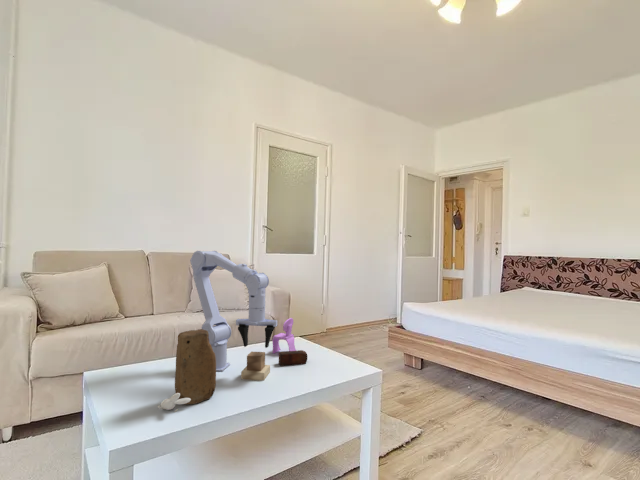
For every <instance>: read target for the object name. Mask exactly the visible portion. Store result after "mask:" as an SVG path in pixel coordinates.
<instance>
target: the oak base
mask: <svg viewBox="0 0 640 480" xmlns="http://www.w3.org/2000/svg"><path fill="white" fill-rule="evenodd" d="M240 373H241V375H240V379H241V380H248V381H251V380H252V381H265V380H266V379H267V377H268V376H269V374H270V373H271V365H270V364H265V367H264V368H263V369H262V370H261V371H249V370H247V365H246V366H245V367H244V368H243V369H242V370H241V372H240Z"/></svg>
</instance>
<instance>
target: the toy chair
mask: <svg viewBox="0 0 640 480" xmlns="http://www.w3.org/2000/svg"><path fill="white" fill-rule="evenodd" d="M293 325H294V318H293V317H289V318H288V319H286V320H285V321H284V322H283V325H282V326H283V327H282V330H283V331H284V332H285V333H284V332H280V333H278V334H275V335H273V337H272V354H275V353H277V352H280V351H282V350H281V347H280V340H284V341H286V342H287V346H288V351H297V349H296V345H295V337H294V334H293V333H292V331H293V329H292V328H293Z"/></svg>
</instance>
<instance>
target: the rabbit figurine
mask: <svg viewBox="0 0 640 480" xmlns="http://www.w3.org/2000/svg"><path fill="white" fill-rule="evenodd" d="M179 397H180V393H175V394H173V395H172V396H170V397H169V398H165V399H164V400H163V401H162V402H160V405H157V408H158V409H160V410H166V411H167V410H169V411H171V410H172V409H174V408H175V407H176V405H187V404H186V403H188V402H190V401H191V399H190V398H181V399H179ZM178 410H179V408H177V409H176V410H174V413H176V412H177V411H178Z"/></svg>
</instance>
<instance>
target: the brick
mask: <svg viewBox="0 0 640 480" xmlns="http://www.w3.org/2000/svg"><path fill="white" fill-rule="evenodd" d="M307 362H308V354H307V352H306V351H305V350H302V349H301V350H298V349H297V350H296V351H289V350H286V351H285V350H284V351H282V350H281V351H278V364H279V366H280V367H284V366H285V367H286V366H296V365H297V366H298V365H305V364H307Z"/></svg>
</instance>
